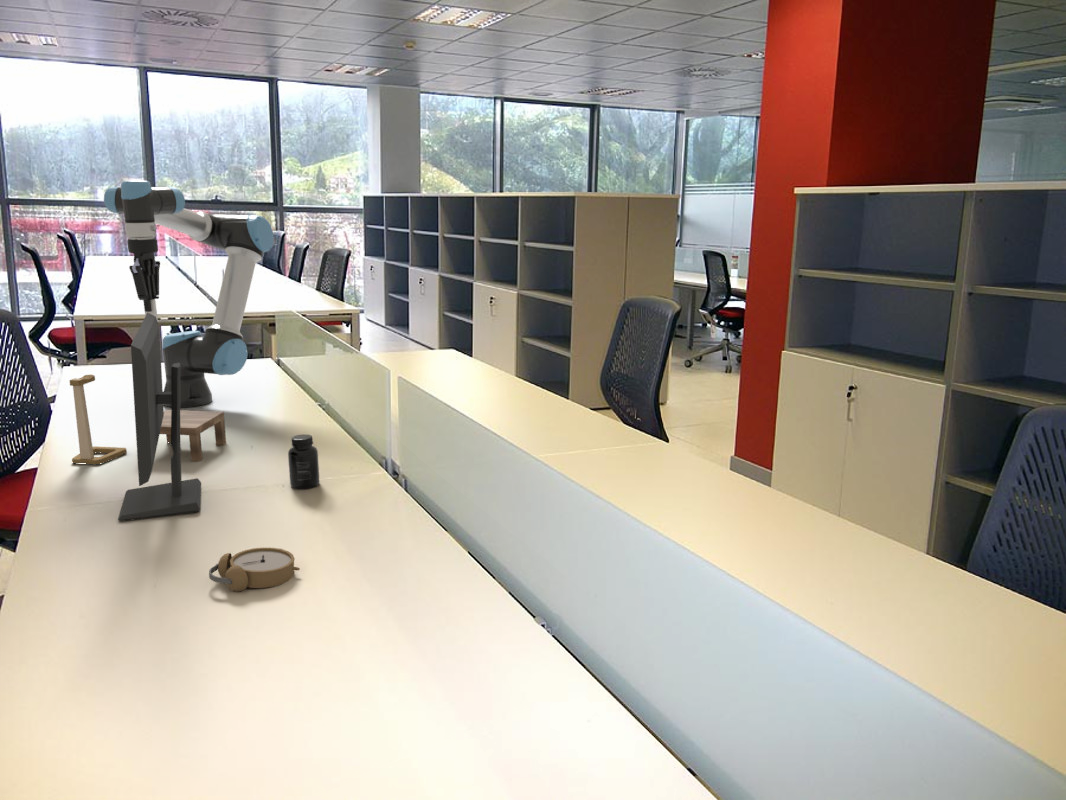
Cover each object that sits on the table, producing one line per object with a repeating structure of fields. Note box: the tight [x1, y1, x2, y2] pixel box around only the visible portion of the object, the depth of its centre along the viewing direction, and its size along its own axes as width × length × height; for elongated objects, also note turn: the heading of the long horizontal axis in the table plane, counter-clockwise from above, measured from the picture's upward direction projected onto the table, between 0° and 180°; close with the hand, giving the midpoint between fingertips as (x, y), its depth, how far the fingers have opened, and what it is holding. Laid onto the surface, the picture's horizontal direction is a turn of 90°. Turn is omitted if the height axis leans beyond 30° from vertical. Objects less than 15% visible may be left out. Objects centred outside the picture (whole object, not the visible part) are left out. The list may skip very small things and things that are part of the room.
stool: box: [160, 409, 227, 462], centre depth 221 cm, size 9×16×16 cm
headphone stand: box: [69, 374, 128, 465], centre depth 212 cm, size 10×11×22 cm
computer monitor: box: [117, 312, 202, 522], centre depth 180 cm, size 44×16×40 cm, turn 21°
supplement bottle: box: [287, 434, 320, 490], centre depth 196 cm, size 7×7×12 cm
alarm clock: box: [208, 547, 301, 592], centre depth 150 cm, size 11×5×15 cm
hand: (152, 322), depth 235 cm, fingers closed
